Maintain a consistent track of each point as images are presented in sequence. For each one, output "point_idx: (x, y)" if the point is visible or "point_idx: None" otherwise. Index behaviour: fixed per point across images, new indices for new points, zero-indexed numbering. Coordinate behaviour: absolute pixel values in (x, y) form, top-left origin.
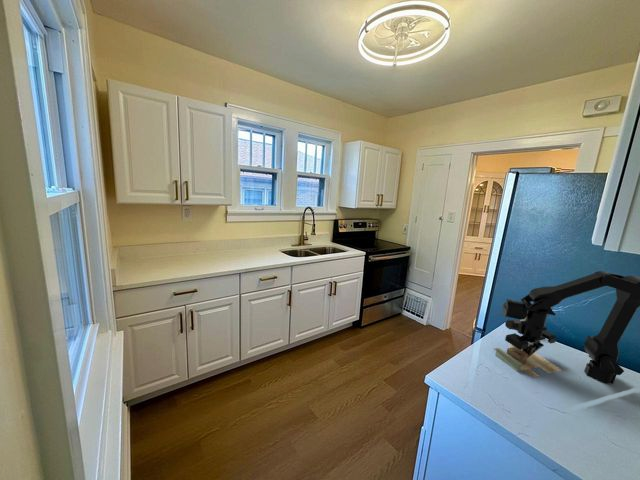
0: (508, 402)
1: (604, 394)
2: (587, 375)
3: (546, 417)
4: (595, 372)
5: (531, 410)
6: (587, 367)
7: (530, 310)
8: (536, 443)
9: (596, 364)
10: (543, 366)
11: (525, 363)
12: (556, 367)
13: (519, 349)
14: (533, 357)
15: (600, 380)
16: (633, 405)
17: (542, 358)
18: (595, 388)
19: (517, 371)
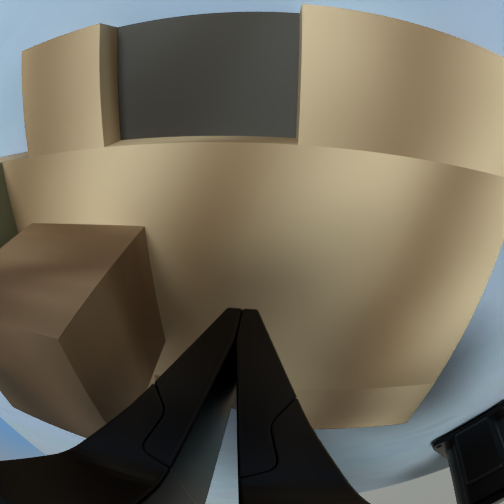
0: None
1: (385, 469)
2: (456, 442)
3: (56, 432)
4: (460, 476)
5: None
6: (481, 462)
7: None
8: (8, 422)
9: (481, 499)
10: (320, 392)
11: (162, 348)
12: (404, 408)
13: (69, 386)
14: (391, 304)
15: (448, 462)
16: (400, 482)
17: (451, 332)
18: (399, 457)
19: None
